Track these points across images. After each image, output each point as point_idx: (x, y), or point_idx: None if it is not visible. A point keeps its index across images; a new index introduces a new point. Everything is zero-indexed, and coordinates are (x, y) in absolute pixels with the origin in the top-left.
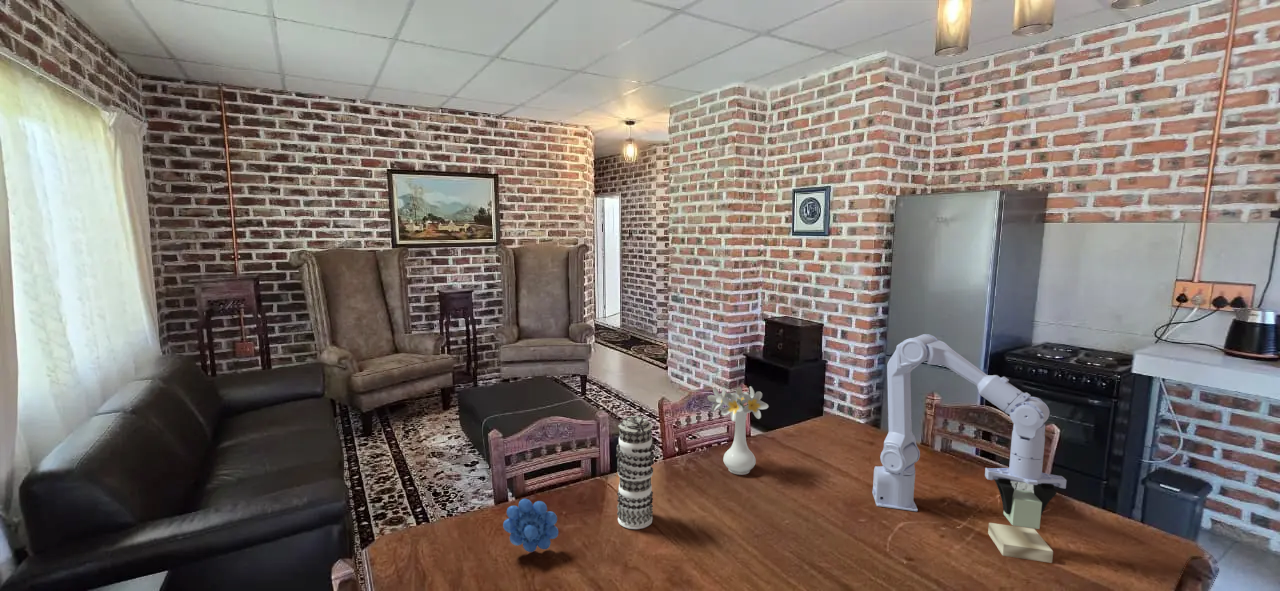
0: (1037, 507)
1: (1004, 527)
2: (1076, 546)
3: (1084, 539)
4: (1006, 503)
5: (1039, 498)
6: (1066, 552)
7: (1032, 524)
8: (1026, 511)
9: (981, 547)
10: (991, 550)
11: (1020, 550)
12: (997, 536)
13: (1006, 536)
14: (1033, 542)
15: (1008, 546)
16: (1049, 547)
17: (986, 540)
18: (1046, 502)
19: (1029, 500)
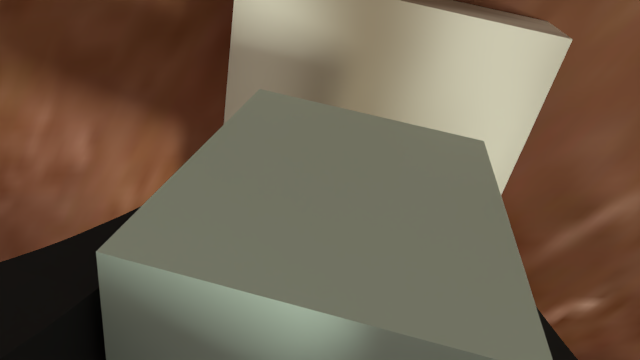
0: (206, 208)
1: None
2: (58, 139)
3: (4, 194)
4: (565, 347)
5: (88, 354)
6: (128, 82)
7: (311, 114)
8: (358, 199)
9: (624, 111)
10: (580, 79)
11: (449, 5)
12: (516, 154)
13: None
14: (312, 77)
15: (534, 28)
16: (235, 18)
17: (519, 185)
18: (26, 267)
19: (288, 319)
